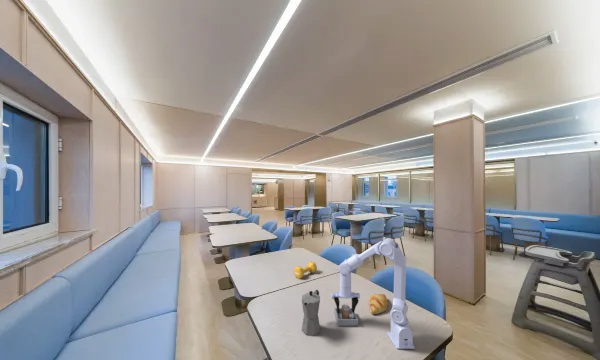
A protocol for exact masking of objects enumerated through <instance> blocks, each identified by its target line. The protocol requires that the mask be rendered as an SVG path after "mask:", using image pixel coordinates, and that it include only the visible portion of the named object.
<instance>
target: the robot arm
mask: <svg viewBox="0 0 600 360" xmlns="http://www.w3.org/2000/svg"><path fill="white" fill-rule="evenodd" d="M374 255H379V256H381V255H382V256H384V257H386V258H387V259H389V260H391V261H392V262H393V263H394V268H393V269H394V270H393V271H394V273H393V274H394V275H393V299H392V307H391V309H390V313H389V317H390V331H387V332H386V333H387V335H388V337H389V339H390V341H391V342H392V343H393V345H394V347H395V349H397V350H403V349H404V350H406V349H407V350H409V349H411V350H412V349H414V350H415V348H416V346H415V345H414V341H413V340H414V339H413V338H414V337H413V336H414V335H413V332H412V330H411V328H410V326H409V319H408V317H407V315H408V311H409V310H408V309H409V307H408V305H407V300H406V280H407V279H406V276H407V270H406V269H407V258H406V256H405V254H404V253H403V251H402V249H401V247H400V244H399V243H398V242H396V241H395V240H394V239H393V238H389V237H387V238H385V239H384V240H381V241H378V242H377V243H375V244H373V245H372V246H370V247H369V248H368V249H366V250H365V251H363V252H362V253H359V254H358V253H352V254H351V256H350V257H349V258H345V259H344V261H342V262H341V263H340V264H339V265H338V266H337V267H338V272H339V291H337V292H331V294H330V295H331V299H333V300H334V303H335V306H336V308H337V312H338V313H339V308H340V302H341V301H340V299H348V300H349V299H351V308H352V312H353V313H354V312H355V311H356V308H357V305H358V303H359V299H361V294H360V293H359V292H352V271H354V270H355V269H358V267H361V266H362V265H363V264H364V261H365V260H368V259H369V258H370V257H373V256H374Z"/></svg>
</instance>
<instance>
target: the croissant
mask: <svg viewBox="0 0 600 360" xmlns="http://www.w3.org/2000/svg"><path fill="white" fill-rule="evenodd" d="M387 298H388V297H387V296H386V294H384V293H382V294H381V293H374V294H372V295H370V296H369V297H368V302H369V304H368V305H369V311H370V313H371V314H372V315H378V314H382V313H383V312H386V311H387V308H388V303H389V302H388V299H387Z"/></svg>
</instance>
